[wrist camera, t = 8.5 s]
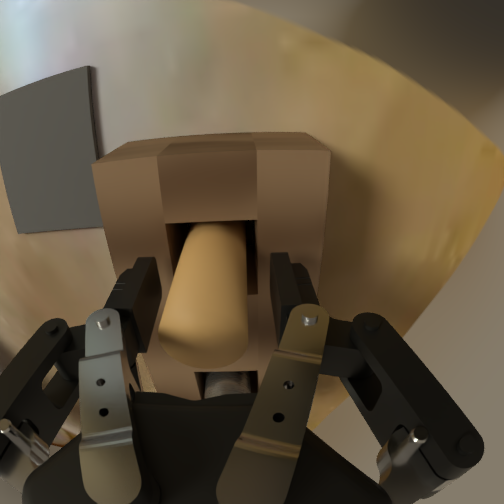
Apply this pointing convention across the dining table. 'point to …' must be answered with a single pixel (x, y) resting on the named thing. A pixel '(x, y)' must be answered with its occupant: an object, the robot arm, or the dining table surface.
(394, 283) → the dining table surface
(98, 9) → the dining table surface
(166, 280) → the hole block
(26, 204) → the mat
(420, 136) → the dining table surface
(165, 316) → the ochre peg
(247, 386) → the grey peg
